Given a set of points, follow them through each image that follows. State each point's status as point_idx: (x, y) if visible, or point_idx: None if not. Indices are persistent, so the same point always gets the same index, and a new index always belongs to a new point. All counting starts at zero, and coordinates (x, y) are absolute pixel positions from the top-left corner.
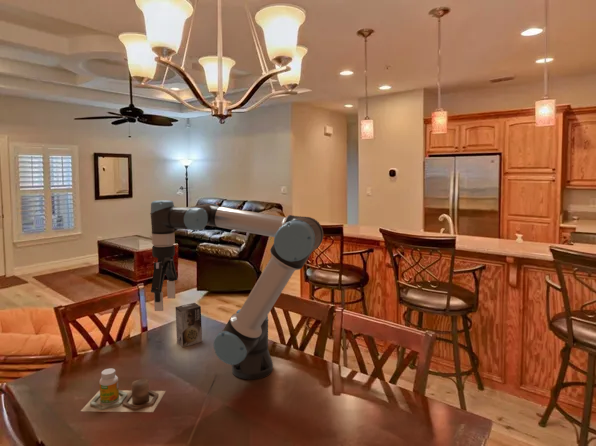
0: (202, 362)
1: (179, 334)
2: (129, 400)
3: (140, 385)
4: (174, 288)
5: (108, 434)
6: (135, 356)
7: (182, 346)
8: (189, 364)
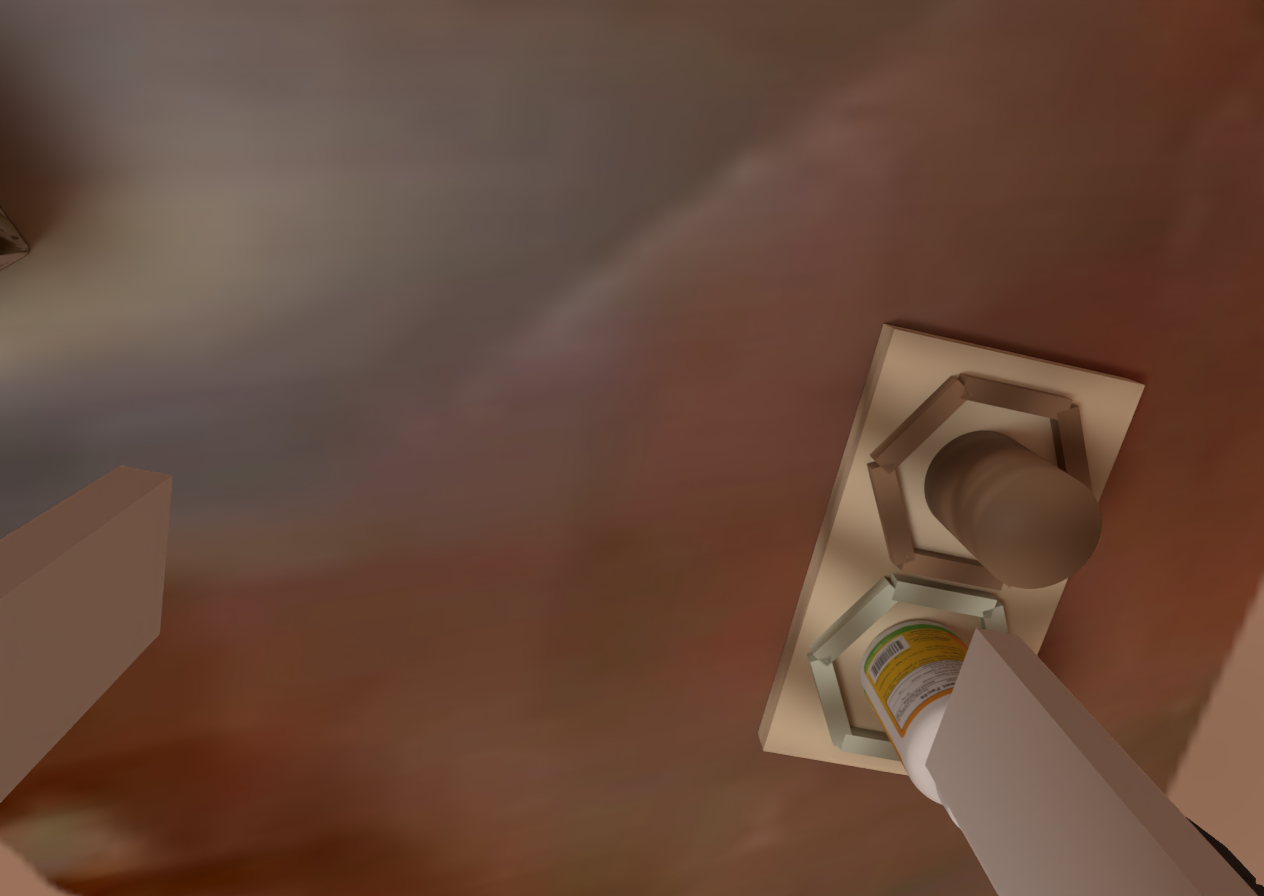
0: (383, 43)
1: None
2: (949, 552)
3: (1083, 523)
4: (15, 590)
5: (1208, 593)
6: (208, 625)
7: (22, 254)
8: (409, 169)
